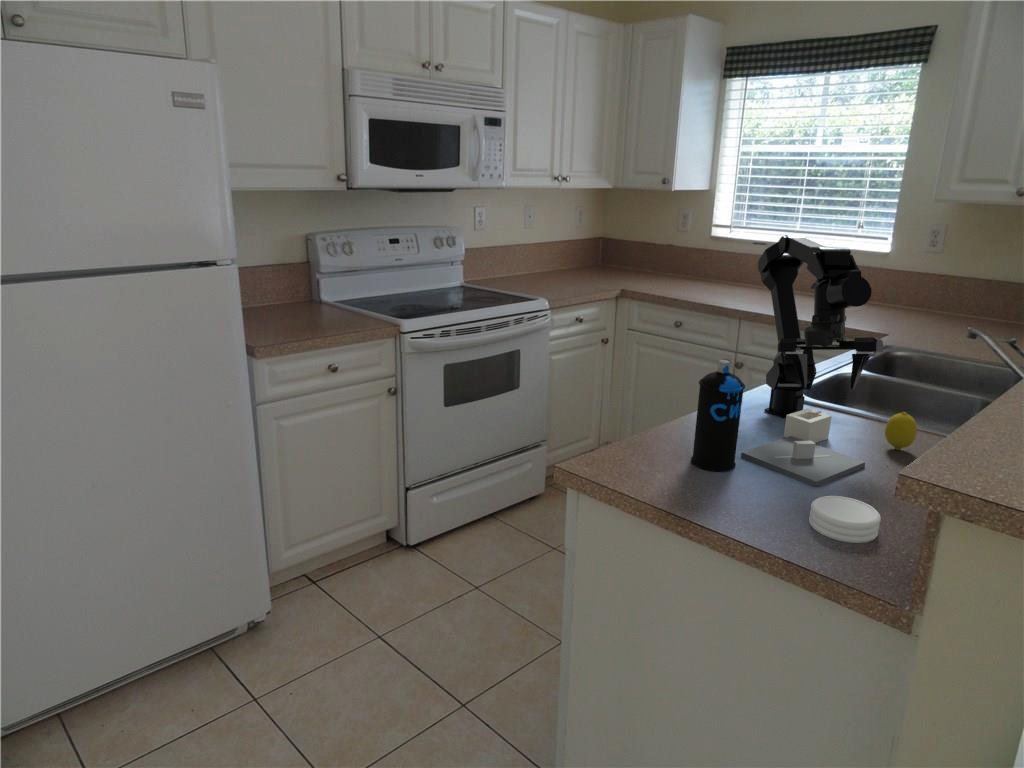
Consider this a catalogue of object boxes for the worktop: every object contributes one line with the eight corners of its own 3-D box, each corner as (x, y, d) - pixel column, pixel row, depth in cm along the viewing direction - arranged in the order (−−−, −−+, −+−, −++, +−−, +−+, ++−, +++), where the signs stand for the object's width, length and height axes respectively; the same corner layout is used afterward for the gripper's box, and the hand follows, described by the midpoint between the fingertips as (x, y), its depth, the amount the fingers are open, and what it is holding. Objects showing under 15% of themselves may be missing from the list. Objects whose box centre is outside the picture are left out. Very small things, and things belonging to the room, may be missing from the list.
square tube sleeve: (783, 437, 151) (786, 413, 150) (804, 430, 156) (808, 407, 154) (807, 445, 147) (810, 421, 146) (828, 438, 151) (832, 414, 150)
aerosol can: (681, 458, 140) (691, 357, 134) (716, 452, 143) (727, 353, 137) (709, 474, 132) (720, 369, 126) (744, 468, 136) (758, 365, 130)
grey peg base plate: (740, 457, 141) (743, 437, 140) (790, 440, 150) (792, 422, 149) (815, 486, 128) (819, 466, 127) (864, 466, 137) (868, 447, 136)
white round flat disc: (844, 550, 108) (847, 528, 107) (794, 520, 117) (797, 500, 116) (892, 537, 112) (896, 517, 111) (840, 509, 121) (844, 490, 120)
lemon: (903, 444, 149) (910, 407, 147) (918, 455, 144) (926, 417, 141) (876, 444, 149) (883, 407, 146) (891, 455, 143) (898, 416, 141)
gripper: (768, 310, 145) (766, 388, 146) (869, 306, 133) (867, 391, 134) (787, 313, 154) (786, 386, 154) (884, 309, 142) (882, 389, 142)
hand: (827, 388), depth 146 cm, fingers open, 9 cm apart
